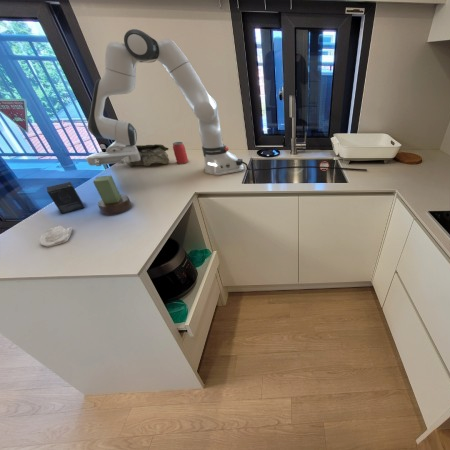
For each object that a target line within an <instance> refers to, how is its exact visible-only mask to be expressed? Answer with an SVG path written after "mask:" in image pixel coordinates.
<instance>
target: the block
mask: <svg viewBox="0 0 450 450" xmlns="http://www.w3.org/2000/svg"><path fill="white" fill-rule="evenodd" d="M92 183H93V185H94V187H95V188H96V190H97V191H96V192H98V194H99V197H100V199H101V200H103V202H104V204H109V203H116V202H119V200H120V198H121V196H120V195H121V193H120V191H119V189H118V187H117V184H116V182H115V181H114V177H113V176H112V175H103V176H96V177H95V179H94V180H93V181H92Z"/></svg>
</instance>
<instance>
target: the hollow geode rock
mask: <svg viewBox="0 0 450 450" xmlns="http://www.w3.org/2000/svg"><path fill="white" fill-rule="evenodd" d="M134 146H136V147H137V149H138V152H139V154H140V158H141V159H140V160H139V161H133V162H126V163H125V164H126V165H127V166H130V167H133V166H136V165H137V166H139V165H140V166H141V165H142V166H150V165H151V164H153V163H159V164H162V165H168V164H169V163H170V158H169V155H168V153H167V152H166V151H169V150H170V148H169V147H166V146H165V145H163V144H157V143H156V144H145V145H143V144H142V145H140V144H139V145H137V144H135V145H134Z"/></svg>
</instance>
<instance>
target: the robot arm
mask: <svg viewBox="0 0 450 450" xmlns="http://www.w3.org/2000/svg"><path fill="white" fill-rule="evenodd" d="M156 61H158V63H160V64H161V65H162V67H164V69H165V70H166V72H167V73H168V74H169V76H170V78H171V79H172V80H173V82H174V83H175V85H176V86H177V87H178V89H179V90H180V92H181V93H182V95H183V97H184V99H185V101H186V102H187V104H188V106H189V107H190V110H192V112H193V114H194V115H195V117H196V118H197V122H198V123H197V124H198V130H199V137H200V140H201V151H202V155H203V157H204V172H205V173H206V174H211V175H215V176H223V175H228V174H233V173H239V172H244V169H245V168H246V169H247V170H248V171H254V172H255V171H268V170H281V169H282V170H283V169H333V170H348V171H368V169H367V168H353V167H337V166H319V165H302V166H301V165H300V166H299V165H298V166H297V165H296V166H278V167H264V168H255V169H251V168H249V165H248V163H246V162H245V161H244V160H243V158H238V156H237V155H236V154H235V153H232V152H230V151H229V147H228V146H227V144H224V141H223V136H222V130H221V121H220V115H219V109H218V104H217V102H216V100H215V99H214V97H213V96H211V95H210V94H209V93H208V91H207V89H206V87H205V85H204V84H203V81H202V79H201V78H200V76H199V75H198V73H197V72H196V70H195V68H194V67H193V66H192V63H191V62H190V61H189V59H188V57H187V56H186V55H185V53H184V52H183V51H182V50H181V48H180V47H179V46H178V45H177V44H176V42H175V41H173V39H170V38H163V39H161V40H159V41H158V40H156V39H155V38H153V37H152V36H150V35H149V34H148V33H146V32H144V31H142V30H140V29H137V28H132V29H129V30H127V31H126V33H125V34H124V36H123V43H122V42H119V41H110V42H108V43H107V45H106V50H105V58H104V74H103V75H102V77H101V78H98V79H97V80H96V82H95V83H94V87H93V92H92V97H91V98H92V99H91V106H90V113H89V116H88V120H87V130H88V132H89V134H91V135H92V136H93V137H94V138H96V139H103V140H105V139H106V140H110V141H113V142H112V143H111V144H110V145H109V146H108V147H107V148H106V150H105V152H104V151H103V152H96V153H95V152H94V153H92V154H89V155H88V156H86V159H85V160H86V162H87V164H88V165H89V166H90V167H91V166H96V167H101V166H102V165H112V164H119V165H120V164H121V165H122V164H126V162H133V161H139V160H140V159H141V158H140V154H139V152H138V149H137V147H136V146H134V145H137V140H138V137H137V136H138V133H137V130H136V128H135V127H134V126H133V124H132V123H131V122H127V121H123V120H118V119H113V118H109V117H105V116H104V111H105V105H106V99H107V98H108V97H111V96H120V95H128V94H129V93H132V92H133V91H134V90H135V89H136V84H137V83H136V82H137V72H136V71H137V66H138V63H146V64H147V63H148V64H149V63H150V64H151V63H154V62H156ZM244 165H245V167H244Z"/></svg>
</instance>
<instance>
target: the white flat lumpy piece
mask: <svg viewBox="0 0 450 450" xmlns="http://www.w3.org/2000/svg"><path fill="white" fill-rule="evenodd" d="M73 229H74V228H73V227H71V226H70V227H67V228H64V227H63V226H62V225H56V226H54V227H49V228H47V230H46V231H45V232H44V234H42V235H41V236H39V240H38V243H39V244H40V245H42V246H44V247H47V248H50V247H54V246H56V245H61V244H65V243H66V242H68V241H69V239H70V237H71V235H72V232H73Z"/></svg>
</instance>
